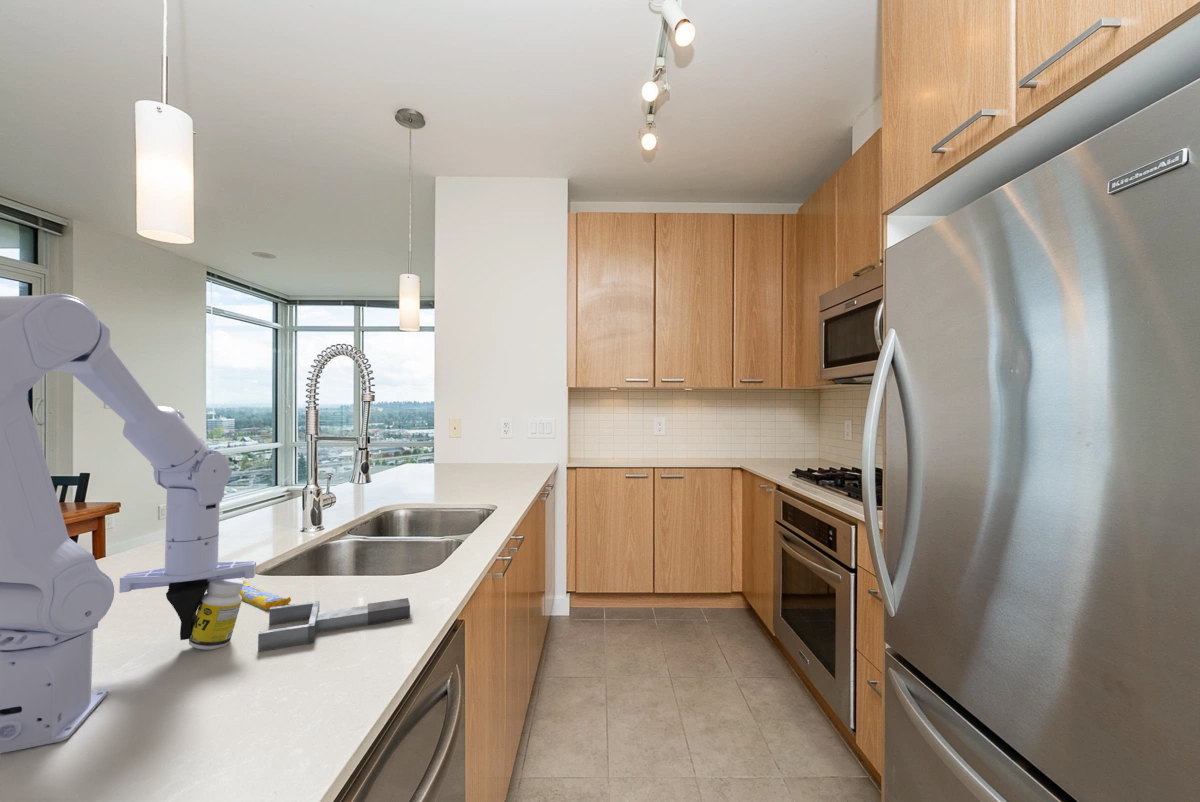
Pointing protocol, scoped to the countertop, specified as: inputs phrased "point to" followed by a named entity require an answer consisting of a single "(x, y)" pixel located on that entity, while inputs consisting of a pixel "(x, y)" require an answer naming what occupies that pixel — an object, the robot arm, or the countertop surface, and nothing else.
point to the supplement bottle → (217, 614)
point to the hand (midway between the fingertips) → (190, 636)
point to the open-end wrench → (325, 621)
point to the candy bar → (261, 597)
